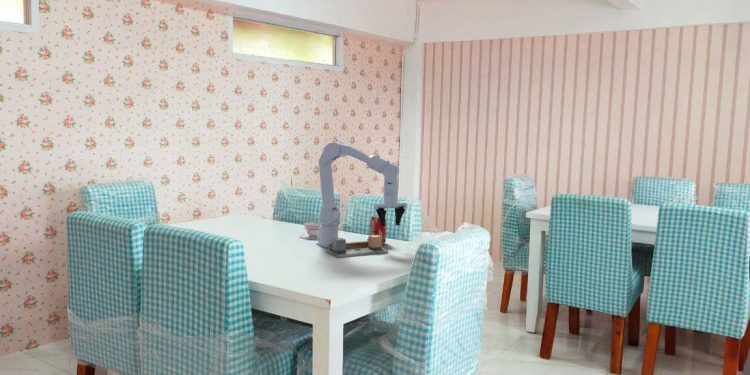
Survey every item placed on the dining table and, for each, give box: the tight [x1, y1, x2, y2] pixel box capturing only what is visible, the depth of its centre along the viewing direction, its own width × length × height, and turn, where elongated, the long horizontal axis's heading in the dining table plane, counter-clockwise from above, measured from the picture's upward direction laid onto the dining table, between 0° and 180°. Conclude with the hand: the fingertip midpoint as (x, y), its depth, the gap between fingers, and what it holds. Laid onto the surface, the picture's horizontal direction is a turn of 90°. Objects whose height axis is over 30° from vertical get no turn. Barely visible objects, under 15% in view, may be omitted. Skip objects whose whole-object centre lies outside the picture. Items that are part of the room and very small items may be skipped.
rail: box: [328, 240, 368, 250], centre depth 262 cm, size 2×20×2 cm, turn 117°
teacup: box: [299, 222, 321, 240], centre depth 290 cm, size 12×12×6 cm
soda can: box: [369, 214, 387, 245], centre depth 276 cm, size 7×7×12 cm
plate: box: [325, 247, 389, 258], centre depth 258 cm, size 12×22×1 cm, turn 117°
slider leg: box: [366, 235, 383, 249], centre depth 262 cm, size 7×4×5 cm, turn 27°
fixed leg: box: [332, 237, 347, 253], centre depth 255 cm, size 7×4×5 cm, turn 27°
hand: (390, 225), depth 264 cm, fingers open, 6 cm apart
